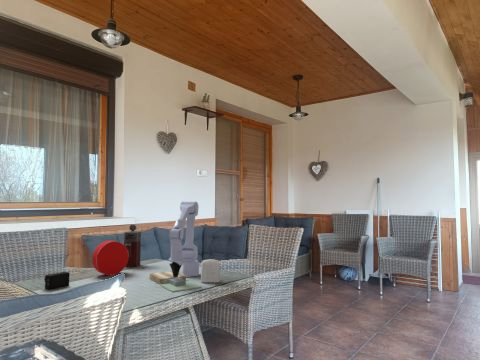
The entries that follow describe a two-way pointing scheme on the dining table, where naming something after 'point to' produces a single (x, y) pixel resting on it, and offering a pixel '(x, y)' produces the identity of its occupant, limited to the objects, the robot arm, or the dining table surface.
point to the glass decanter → (133, 246)
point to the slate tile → (176, 282)
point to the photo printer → (210, 271)
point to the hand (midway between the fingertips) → (175, 276)
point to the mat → (188, 286)
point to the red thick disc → (110, 257)
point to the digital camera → (56, 280)
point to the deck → (164, 277)
